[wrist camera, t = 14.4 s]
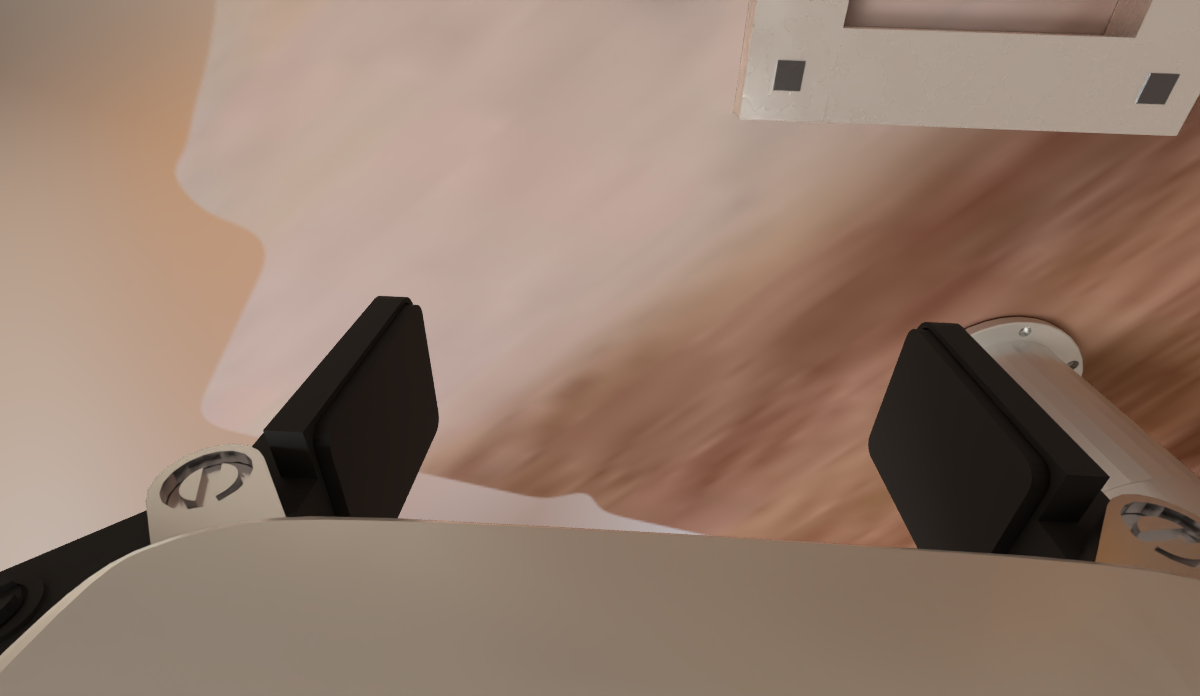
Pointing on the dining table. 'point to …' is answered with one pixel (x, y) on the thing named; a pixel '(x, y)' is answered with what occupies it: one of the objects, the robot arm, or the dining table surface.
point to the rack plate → (971, 71)
